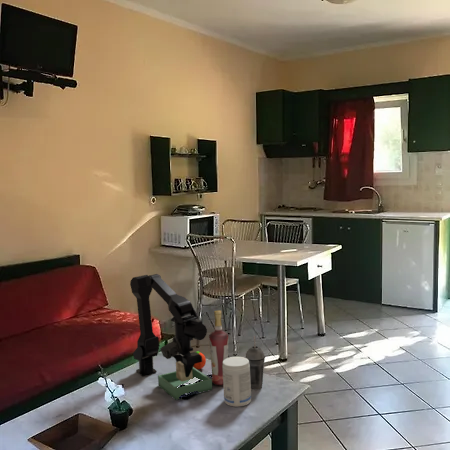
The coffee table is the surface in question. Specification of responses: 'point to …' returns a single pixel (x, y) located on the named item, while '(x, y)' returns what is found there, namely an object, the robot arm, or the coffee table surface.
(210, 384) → the green bin
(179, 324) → the robot arm
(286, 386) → the coffee table surface
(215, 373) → the liquor
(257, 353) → the beverage cup
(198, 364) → the clementine
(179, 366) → the beech block
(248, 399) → the supplement tub
